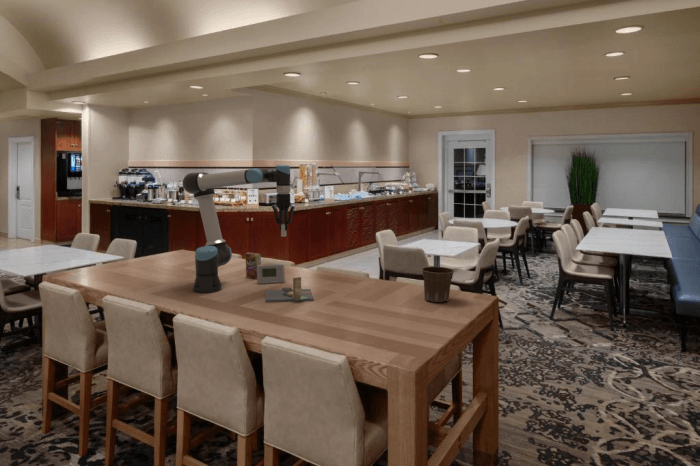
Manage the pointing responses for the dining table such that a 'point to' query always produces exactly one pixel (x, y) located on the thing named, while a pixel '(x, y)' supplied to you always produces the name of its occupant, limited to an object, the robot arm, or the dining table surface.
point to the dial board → (287, 296)
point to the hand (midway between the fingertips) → (283, 236)
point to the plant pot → (437, 283)
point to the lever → (294, 288)
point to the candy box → (252, 264)
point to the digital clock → (270, 274)
